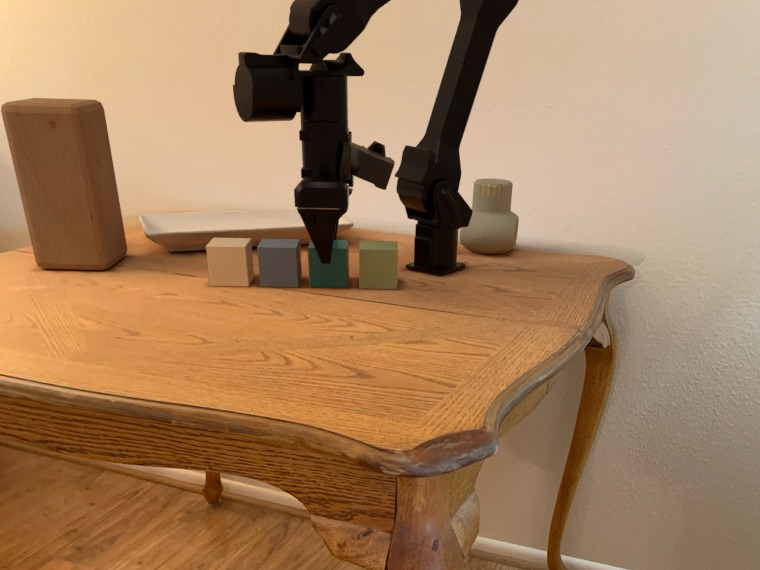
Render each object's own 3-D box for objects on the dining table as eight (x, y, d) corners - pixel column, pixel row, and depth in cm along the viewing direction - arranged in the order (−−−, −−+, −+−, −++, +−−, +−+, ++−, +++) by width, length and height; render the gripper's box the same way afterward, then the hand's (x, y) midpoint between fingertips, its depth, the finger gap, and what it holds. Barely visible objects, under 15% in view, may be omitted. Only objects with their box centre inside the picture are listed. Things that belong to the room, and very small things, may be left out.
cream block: (254, 276, 104) (251, 238, 102) (248, 286, 100) (245, 246, 98) (217, 276, 104) (213, 237, 102) (210, 285, 100) (205, 245, 97)
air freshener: (466, 241, 126) (471, 174, 120) (517, 244, 125) (523, 177, 119) (457, 256, 117) (461, 185, 111) (511, 260, 116) (517, 188, 110)
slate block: (302, 277, 105) (300, 239, 102) (298, 287, 100) (296, 247, 98) (265, 277, 105) (262, 238, 102) (260, 286, 100) (256, 246, 98)
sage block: (396, 279, 105) (397, 241, 102) (397, 289, 101) (397, 249, 98) (360, 278, 105) (360, 240, 102) (359, 288, 101) (358, 248, 98)
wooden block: (107, 272, 105) (77, 104, 94) (34, 270, 105) (-5, 102, 94) (130, 255, 113) (105, 99, 102) (63, 253, 113) (30, 97, 102)
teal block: (349, 278, 105) (348, 240, 102) (347, 288, 101) (346, 248, 98) (312, 277, 105) (311, 239, 102) (309, 287, 101) (307, 247, 98)
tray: (141, 234, 125) (137, 211, 123) (328, 225, 134) (327, 204, 132) (149, 258, 111) (145, 233, 110) (356, 246, 121) (355, 223, 119)
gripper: (391, 129, 85) (389, 274, 93) (391, 115, 100) (389, 240, 109) (290, 127, 84) (297, 272, 93) (305, 113, 100) (311, 239, 108)
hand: (328, 255), depth 101 cm, fingers open, 9 cm apart
